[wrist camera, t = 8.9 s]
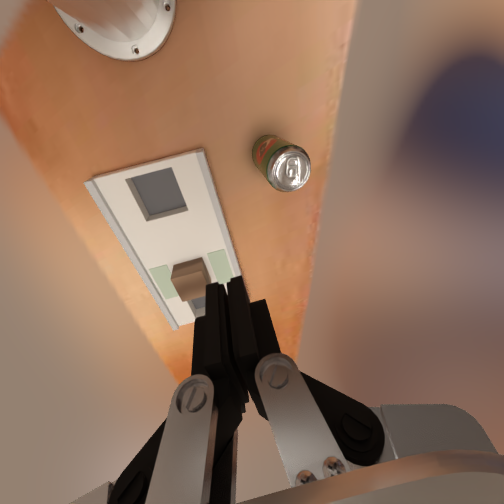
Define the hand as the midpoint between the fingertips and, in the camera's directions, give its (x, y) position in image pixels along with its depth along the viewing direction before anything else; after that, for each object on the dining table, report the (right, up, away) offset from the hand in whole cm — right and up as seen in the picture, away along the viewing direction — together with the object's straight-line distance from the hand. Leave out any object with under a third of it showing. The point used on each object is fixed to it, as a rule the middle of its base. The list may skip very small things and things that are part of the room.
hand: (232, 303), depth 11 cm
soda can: (+3, +17, +25) cm, 30 cm away
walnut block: (-9, -1, +31) cm, 32 cm away
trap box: (-11, +3, +31) cm, 33 cm away
